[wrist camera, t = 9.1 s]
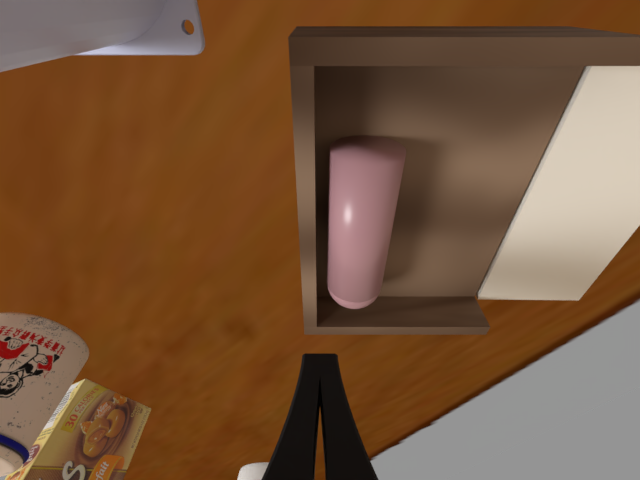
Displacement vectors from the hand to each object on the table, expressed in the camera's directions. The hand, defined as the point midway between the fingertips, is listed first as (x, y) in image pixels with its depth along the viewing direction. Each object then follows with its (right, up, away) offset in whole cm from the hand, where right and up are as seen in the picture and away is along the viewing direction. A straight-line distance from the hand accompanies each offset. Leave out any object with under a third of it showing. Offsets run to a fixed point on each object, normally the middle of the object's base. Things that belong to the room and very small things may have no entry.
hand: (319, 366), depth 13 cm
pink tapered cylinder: (+2, +7, +4) cm, 8 cm away
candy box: (-24, -13, +23) cm, 35 cm away
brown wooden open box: (+5, +8, +5) cm, 11 cm away
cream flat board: (+11, +7, +4) cm, 14 cm away
